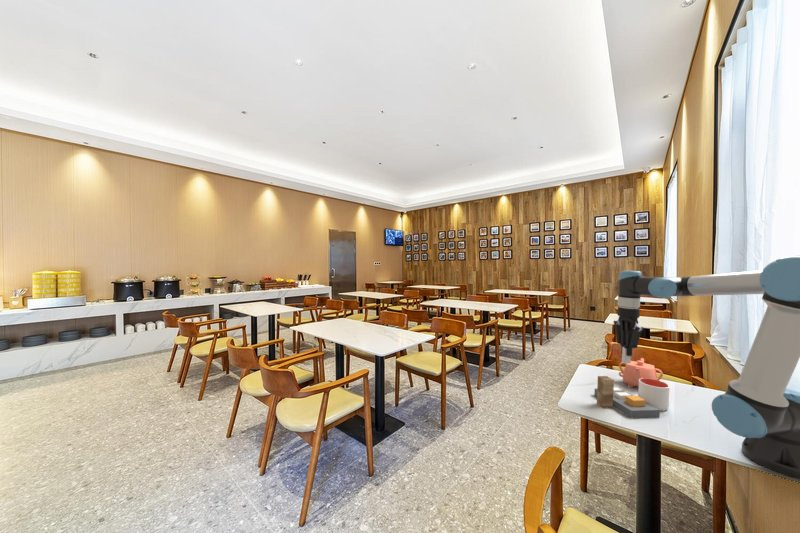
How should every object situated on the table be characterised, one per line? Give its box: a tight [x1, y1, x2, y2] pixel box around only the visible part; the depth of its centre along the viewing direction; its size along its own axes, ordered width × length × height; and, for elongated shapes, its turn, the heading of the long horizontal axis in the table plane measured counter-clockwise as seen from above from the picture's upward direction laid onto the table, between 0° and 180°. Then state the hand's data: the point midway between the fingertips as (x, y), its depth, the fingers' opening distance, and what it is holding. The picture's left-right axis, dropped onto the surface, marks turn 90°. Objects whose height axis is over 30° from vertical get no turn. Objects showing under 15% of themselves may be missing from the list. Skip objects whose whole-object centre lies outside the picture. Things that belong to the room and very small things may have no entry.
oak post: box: [596, 375, 615, 409], centre depth 128 cm, size 4×4×12 cm
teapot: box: [618, 357, 664, 388], centre depth 149 cm, size 15×17×13 cm
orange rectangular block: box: [625, 395, 645, 407], centre depth 124 cm, size 4×5×3 cm
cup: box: [637, 378, 670, 412], centre depth 129 cm, size 10×10×10 cm
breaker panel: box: [594, 386, 661, 419], centre depth 129 cm, size 20×12×4 cm, turn 5°
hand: (626, 362), depth 129 cm, fingers closed
